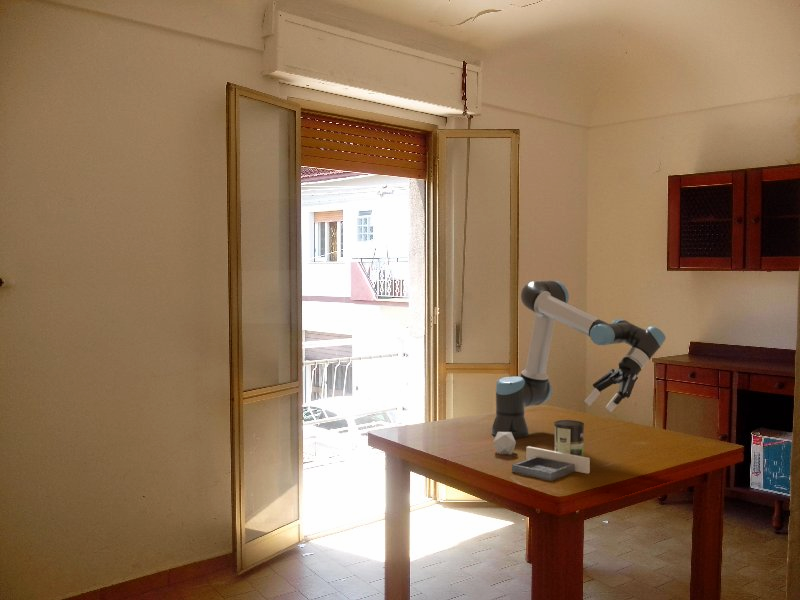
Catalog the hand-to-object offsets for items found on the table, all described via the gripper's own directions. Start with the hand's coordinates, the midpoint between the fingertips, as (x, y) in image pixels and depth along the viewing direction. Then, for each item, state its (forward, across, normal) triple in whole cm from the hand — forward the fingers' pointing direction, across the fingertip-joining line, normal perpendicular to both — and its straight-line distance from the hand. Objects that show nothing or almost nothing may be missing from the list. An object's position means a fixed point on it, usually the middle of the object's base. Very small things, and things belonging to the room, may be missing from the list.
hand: (597, 406), depth 254 cm
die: (+33, +19, +6) cm, 38 cm away
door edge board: (+26, -3, -1) cm, 27 cm away
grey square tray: (+32, -8, +5) cm, 33 cm away
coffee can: (+22, +1, -6) cm, 22 cm away
